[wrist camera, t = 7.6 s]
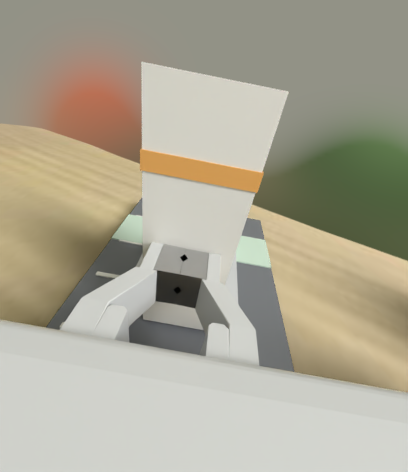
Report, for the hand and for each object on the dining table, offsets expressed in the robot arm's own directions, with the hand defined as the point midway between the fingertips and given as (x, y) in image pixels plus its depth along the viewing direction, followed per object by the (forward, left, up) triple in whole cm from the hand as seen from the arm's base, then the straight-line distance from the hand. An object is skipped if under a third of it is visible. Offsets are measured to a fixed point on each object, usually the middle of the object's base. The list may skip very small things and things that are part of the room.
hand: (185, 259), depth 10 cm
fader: (-1, +1, -5) cm, 6 cm away
